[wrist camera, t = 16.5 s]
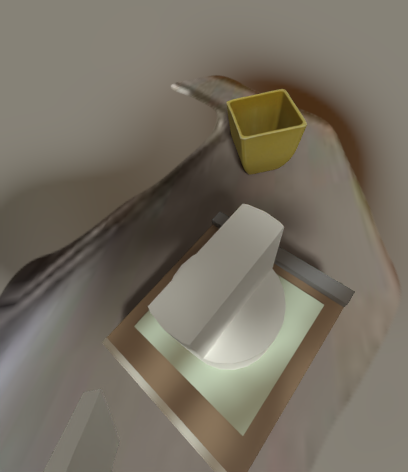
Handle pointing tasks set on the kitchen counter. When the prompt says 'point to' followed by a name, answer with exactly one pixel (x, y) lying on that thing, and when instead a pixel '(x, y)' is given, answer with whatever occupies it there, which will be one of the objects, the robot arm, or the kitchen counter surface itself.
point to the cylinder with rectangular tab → (227, 293)
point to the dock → (230, 381)
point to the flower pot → (265, 129)
